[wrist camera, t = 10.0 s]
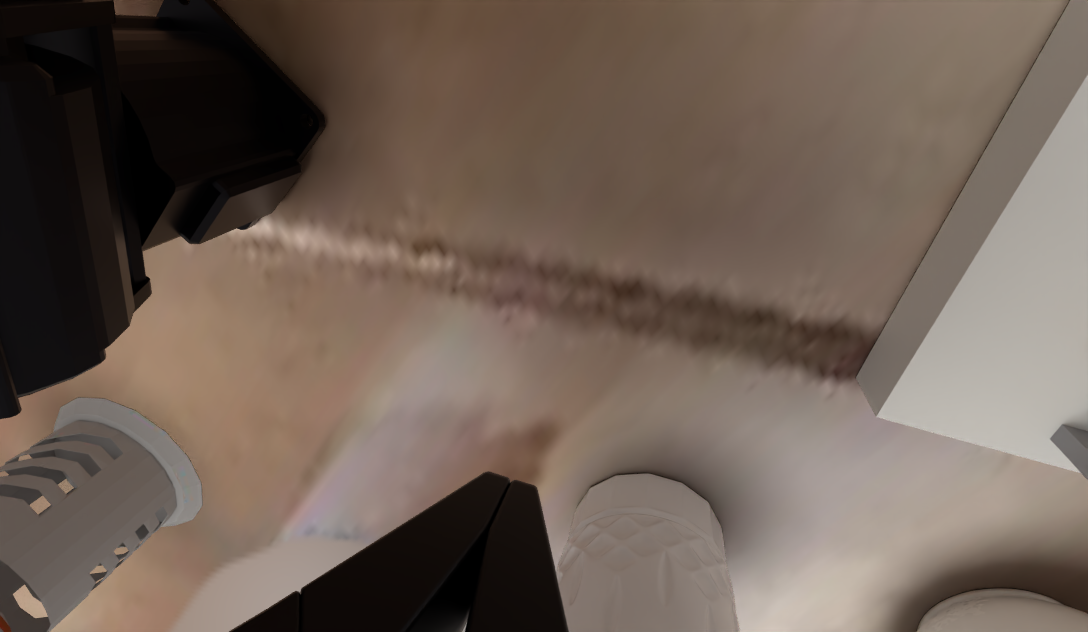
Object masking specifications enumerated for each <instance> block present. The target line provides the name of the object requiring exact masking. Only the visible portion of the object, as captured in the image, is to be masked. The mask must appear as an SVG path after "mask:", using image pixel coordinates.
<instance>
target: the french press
mask: <svg viewBox="0 0 1088 632" xmlns="http://www.w3.org/2000/svg"><path fill="white" fill-rule="evenodd" d="M27 454H29V455H30V456H31V457H32V458H33V459H26V460H22V461H18V459H19V457H20V456H22V455H27ZM2 471H6V472H7V473H8V474H9V475H8V476H3V477H0V632H50V631H51V630H52V629H53V628H54V627H55V626H56V625H57V624H58V623H59V622H60V621H61V620H62V619H64V618H65V617H66V616H67V615H68V614H69V613H70V612H71V611H72V610H73V609H74V608H75V607H76V606H77V605H78V604H80V603H81V602H82V601H83V600H84V599H85V598H86V597H87V596H88V594H89V593H90V591H92V590H93V589H94V588H95V587H97V586H98V585H99V584H100V583H101V582H102V581H104V580H105V579H106V578H107V577H108V576H109V575H110V574H111V573H112V572H113V570H114V569H115V568H116V567H118V566H119V565H120V564H121V563H123V562H124V561H125V560H126V559H127V558H128V557H129V556H130V555H131V554H132V553H133V552H134V551H135V550H137V549H138V548H139V547H140V546H141V545H142V544H143V543H144V542H145V541H146V540H147V539H148V538H149V537H150V536H151V535H152V534H153V533H154V532H156V531H157V530H158V529H159V528H160V527H165V526H175V525H178V524H181V523H184V522H187V521H190V520H193V519H194V517H195V516H196V514H197V513H198V511H199V510H200V508H201V507H202V487H201V482H200V480H199V478H198V476H197V474H196V472H195V470H194V468H193V466H192V464H191V462H190V460H189V458H188V456H187V455H186V454H185V453H184V452H183V451H182V450H181V449H180V448H179V446H178V445H177V444H176V443H175V442H174V441H173V440H172V439H171V438H170V436H169V435H168V434H167V433H166V432H165V431H164V430H162V429H161V428H159V427H158V426H156V425H155V424H154V423H152V422H151V421H149V420H148V419H146V418H145V417H144V416H142V415H141V414H139V413H138V412H137V411H135V410H132V409H130V408H127V407H125V406H122V405H119V404H117V403H114V402H112V401H109V400H107V399H100V398H76V399H75V400H73V401H71V402H69V403H67V404H66V405H64V406H62V407H61V408H60V411H59V414H58V417H57V420H56V423H55V426H54V433H52V434H50V435H49V436H47V437H46V438H44V439H42V440H41V441H39V442H38V443H36V444H34V445H33V446H31V447H30V449H29V450H27V451H24V452H22V453H20V454H18V455H17V456H15V457H14V458H12V459H10V460H9V461H7V462H6V463H5V465H4V466H2V467H0V472H2ZM66 478H67V480H68V482H69V483H70V484H71V485H72V486H73V487H74V489H72V490H71V491H69V492H68V493H67V494H65V492H64V491H63V490H62V489H61V488H60V487H59V486H58V484H59V483H60V482H62V481H63V480H65V479H66ZM42 495H43V496H44V497H45V498H46V499H47V501H48V502H49V503H50V504H51V506H49V507H48V508H47V509H45V510H44V511H43V512H41V513H40V514H39V515H38V514H37V513H36V512H35V511H34V510H33V509H32V508H31V507H30V506H29V505H30V504H31V503H33V502H34V501H35V500H37V499H38V498H40V497H41V496H42ZM143 539H144V540H143ZM142 540H143V541H142ZM140 541H142V543H141V544H140V545H138V544H139V543H140ZM120 547H127V549H128V550H129V551H128V552H126V553H124V554H120V555H116V554H115V553H114V550H115V549H116V548H120ZM124 557H125V558H124ZM123 558H124V559H123ZM121 559H123V560H122V561H121V562H119V561H120V560H121ZM100 565H103V566H104V568H105V569H106V570H107V572H102V573H94V574H89V573H90V572H91V571H92V570H93V569H94V568H95V567H96V566H100ZM103 577H104V578H103ZM101 578H103V579H102V580H101V581H99V582H98V583H96V581H98V580H99V579H101ZM24 584H25V585H26V587H27V588H28V590H29V591H30V593H31V594H32V596H33V597H34V598H36V599H37V600H39V601H40V602H42V604H43V606H44V608H45V610H46V612H47V615H48V617H43V618H34V617H33V616H31V615H30V614H28V613H27V612H26V611H24V610H23V609H21V608H20V607H19V605H18V603H17V601H16V600H15V598H14V596H13V593H15V592H16V591H17V590H18V589H19V588H21V587H22V586H23V585H24Z"/></svg>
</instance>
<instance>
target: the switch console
mask: <svg viewBox="0 0 1088 632" xmlns="http://www.w3.org/2000/svg"><path fill="white" fill-rule="evenodd" d="M856 379H857V381H858V383H859V385H860V387H861V389H862V391H863V393H864V395H865V397H866V398H867V400H868V402H869V404H870V406H871V408H872V410H873V412H874V414H875V416H876V417H878V418H881V419H885V420H889V421H892V422H896V423H900V424H903V425H907V426H911V427H914V428H918V429H922V430H925V431H929V432H933V433H936V434H940V435H943V436H947V437H951V438H954V439H958V440H962V441H965V442H969V443H973V444H976V445H980V446H984V447H987V448H991V449H995V450H998V451H1002V452H1005V453H1009V454H1013V455H1016V456H1020V457H1024V458H1027V459H1031V460H1035V461H1038V462H1042V463H1046V464H1049V465H1053V466H1057V467H1060V468H1064V469H1067V470H1071V471H1075V472H1078V473H1082V474H1083V475H1084V477H1085V478H1086V479H1088V0H1070V2H1069V3H1068V5H1067V7H1066V9H1065V11H1064V12H1063V14H1062V16H1061V18H1060V19H1059V21H1058V23H1057V25H1056V26H1055V28H1054V30H1053V32H1052V33H1051V35H1050V37H1049V39H1048V40H1047V42H1046V44H1045V46H1044V47H1043V49H1042V51H1041V53H1040V54H1039V56H1038V58H1037V60H1036V62H1035V63H1034V65H1033V67H1032V69H1031V70H1030V72H1029V74H1028V76H1027V77H1026V79H1025V81H1024V83H1023V84H1022V86H1021V88H1020V90H1019V91H1018V93H1017V95H1016V97H1015V98H1014V100H1013V102H1012V104H1011V105H1010V107H1009V109H1008V111H1007V113H1006V114H1005V116H1004V118H1003V120H1002V121H1001V123H1000V125H999V127H998V128H997V130H996V132H995V134H994V135H993V137H992V139H991V141H990V142H989V144H988V146H987V148H986V149H985V151H984V153H983V155H982V156H981V158H980V160H979V162H978V164H977V165H976V167H975V169H974V171H973V172H972V174H971V176H970V178H969V179H968V181H967V183H966V185H965V186H964V188H963V190H962V192H961V193H960V195H959V197H958V199H957V200H956V202H955V204H954V206H953V207H952V209H951V211H950V213H949V215H948V216H947V218H946V220H945V222H944V223H943V225H942V227H941V229H940V230H939V232H938V234H937V236H936V237H935V239H934V241H933V243H932V244H931V246H930V248H929V250H928V251H927V253H926V255H925V257H924V258H923V260H922V262H921V264H920V266H919V267H918V269H917V271H916V273H915V274H914V276H913V278H912V280H911V281H910V283H909V285H908V287H907V288H906V290H905V292H904V294H903V295H902V297H901V299H900V301H899V302H898V304H897V306H896V308H895V309H894V311H893V313H892V315H891V317H890V318H889V320H888V322H887V324H886V325H885V327H884V329H883V331H882V332H881V334H880V336H879V338H878V339H877V341H876V343H875V345H874V346H873V348H872V350H871V352H870V353H869V355H868V357H867V359H866V360H865V362H864V364H863V366H862V368H861V369H860V371H859V373H858V375H857V376H856Z"/></svg>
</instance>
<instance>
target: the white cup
mask: <svg viewBox="0 0 1088 632" xmlns="http://www.w3.org/2000/svg"><path fill="white" fill-rule="evenodd" d="M556 575H557V580H558V584H559V589H560V593H561V598H562V602H563V607H564V611H565V616H566V621H567V625H568V630H569V632H740V628H739V623H738V619H737V614H736V607H735V599H734V593H733V588H732V584H731V580H730V576H729V573H728V570H727V564H726V556H725V549H724V541H723V534H722V528H721V525H720V524H719V522H718V520H717V518H716V516H715V514H714V512H713V510H712V508H711V506H710V504H709V503H708V502H707V501H706V500H705V499H703V498H702V497H701V496H699V495H698V494H697V493H695V492H694V491H693V490H691V489H690V488H688V487H687V486H686V485H684V484H683V483H681V482H677V481H674V480H670V479H667V478H663V477H660V476H656V475H653V474H649V473H645V474H629V475H616V476H613V477H611V478H609V479H607V480H605V481H603V482H601V483H599V484H597V485H595V486H593V487H591V488H590V489H589V490H588V492H587V493H586V495H585V496H584V498H583V499H582V501H581V502H580V504H579V505H578V507H577V508H576V511H575V514H574V518H573V522H572V525H571V529H570V533H569V537H568V541H567V544H566V546H565V548H564V550H563V553H562V555H561V558H560V561H559V564H558V567H557V571H556Z"/></svg>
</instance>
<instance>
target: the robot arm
mask: <svg viewBox="0 0 1088 632" xmlns="http://www.w3.org/2000/svg"><path fill="white" fill-rule="evenodd" d="M307 115H309V116H310V117H311V118H312V120H313V125H312V126H310V125H309V124H308V122H307ZM324 128H325V118H324V115H323V114H322V112H321V111H320V110H319V109H318V108H317V107H316V106H315V105H314V103H313V102H312V101H311V100H310V99H309V98H308V97H307V96H306V95H305V94H304V93H303V92H302V91H301V90H300V89H299V88H298V87H297V86H296V85H295V84H294V83H293V82H292V81H291V80H290V79H289V78H288V77H287V76H286V75H285V74H284V73H283V72H282V71H281V70H280V69H279V68H278V67H277V66H276V65H275V64H274V63H273V62H272V61H271V60H270V58H269V57H268V56H267V55H266V54H265V53H264V52H263V51H262V50H261V49H260V48H259V47H258V46H257V45H256V44H255V43H254V42H253V41H252V40H251V39H250V38H249V37H248V36H247V35H246V34H245V33H244V32H243V31H242V30H241V29H240V28H239V27H238V26H237V25H236V24H235V23H234V22H233V21H232V20H231V19H230V18H229V17H228V16H227V15H226V14H225V12H224V11H223V10H222V9H221V8H220V7H219V6H218V5H217V4H216V3H215V2H214V1H213V0H190V2H188V1H187V0H164V1H163V3H162V6H161V8H160V10H159V12H158V14H157V16H156V17H152V16H127V15H115V10H114V2H113V0H0V419H3V418H10V417H13V416H16V415H17V414H19V413H20V412H21V406H20V403H19V400H18V398H19V397H23V396H26V395H30V394H33V393H35V392H38V391H41V390H43V389H46V388H48V387H51V386H54V385H56V384H59V383H62V382H65V381H67V380H70V379H73V378H75V377H76V376H78V375H80V374H82V373H84V372H86V371H88V370H90V369H92V368H93V367H95V366H97V365H98V364H100V363H101V362H102V361H104V360H105V358H106V353H105V348H107V347H108V346H110V345H111V344H112V343H113V342H114V341H115V340H116V339H117V338H118V337H119V336H120V335H121V334H122V333H123V332H124V331H125V330H126V329H127V328H128V327H129V326H130V322H131V319H132V316H133V313H134V312H135V311H136V310H137V309H138V308H139V307H140V306H141V305H142V304H143V303H144V302H145V301H146V300H147V298H148V297H149V296H150V295H151V294H152V291H151V283H150V278H149V277H147V276H146V274H145V267H144V259H143V252H142V251H145V250H147V249H150V248H152V247H155V246H157V245H160V244H162V243H165V242H168V241H170V240H173V239H175V238H178V237H180V236H182V237H183V238H184V239H185V240H186V241H187V242H188V243H189V244H201V243H203V242H206V241H208V240H210V239H213V238H215V237H217V236H220V235H222V234H224V233H227V232H229V231H231V230H234V229H236V228H237V229H240V230H245V229H248V228H250V227H252V226H253V225H255V224H256V222H257V221H258V220H259V218H261V217H264V216H266V215H268V214H271V213H272V212H273V211H274V210H275V208H276V207H277V206H278V204H279V203H280V202H281V200H282V199H283V198H284V196H285V195H286V193H287V192H288V191H289V189H290V188H291V187H292V185H293V184H294V183H295V181H296V180H297V179H298V177H299V176H300V175H301V173H302V166H301V164H300V162H301V160H302V159H303V158H304V156H305V155H306V154H307V152H308V151H309V149H310V148H311V147H312V145H313V144H314V143H315V141H316V140H317V138H318V137H319V136H320V134H321V133H322V132H323V130H324ZM466 622H467V625H466V629H465V632H569V630H568V625H567V621H566V616H565V611H564V607H563V602H562V598H561V593H560V589H559V584H558V580H557V575H556V571H555V566H554V561H553V557H552V552H551V548H550V543H549V539H548V534H547V530H546V525H545V521H544V516H543V511H542V507H541V502H540V498H539V493H538V490H537V487H536V486H534V485H531V484H528V483H525V482H521V481H518V480H513V481H512V482H511V483H510V479H509V478H508V477H505V476H502V475H499V474H495V473H492V472H485V473H483V474H481V475H480V476H478V477H476V478H475V479H473V480H472V481H470V482H469V483H467V484H465V485H464V486H462V487H461V488H459V489H457V490H456V491H454V492H453V493H451V494H450V495H448V496H446V497H445V498H443V499H442V500H440V501H438V502H437V503H435V504H434V505H432V506H431V507H429V508H427V509H426V510H424V511H423V512H421V513H420V514H418V515H416V516H415V517H413V518H412V519H410V520H408V521H407V522H405V523H404V524H402V525H401V526H399V527H397V528H396V529H394V530H393V531H391V532H389V533H388V534H386V535H385V536H383V537H382V538H380V539H378V540H377V541H375V542H374V543H372V544H371V545H369V546H367V547H366V548H364V549H363V550H361V551H359V552H358V553H356V554H355V555H353V556H352V557H350V558H348V559H347V560H345V561H344V562H342V563H340V564H339V565H337V566H336V567H334V568H333V569H331V570H329V571H328V572H326V573H325V574H323V575H322V576H320V577H318V578H317V579H315V580H314V581H312V582H311V583H309V584H307V585H306V586H304V587H303V588H302V589H301V592H300V593H299V592H298V591H295V592H293V593H291V594H290V595H288V596H287V597H285V598H284V599H282V600H280V601H279V602H277V603H276V604H274V605H272V606H271V607H269V608H268V609H266V610H264V611H263V612H261V613H259V614H258V615H256V616H255V617H253V618H251V619H249V620H248V621H246V622H244V623H243V624H241V625H239V626H237V627H236V628H234V629H232V630H231V631H229V632H462V631H463V629H464V627H465V624H466Z"/></svg>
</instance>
